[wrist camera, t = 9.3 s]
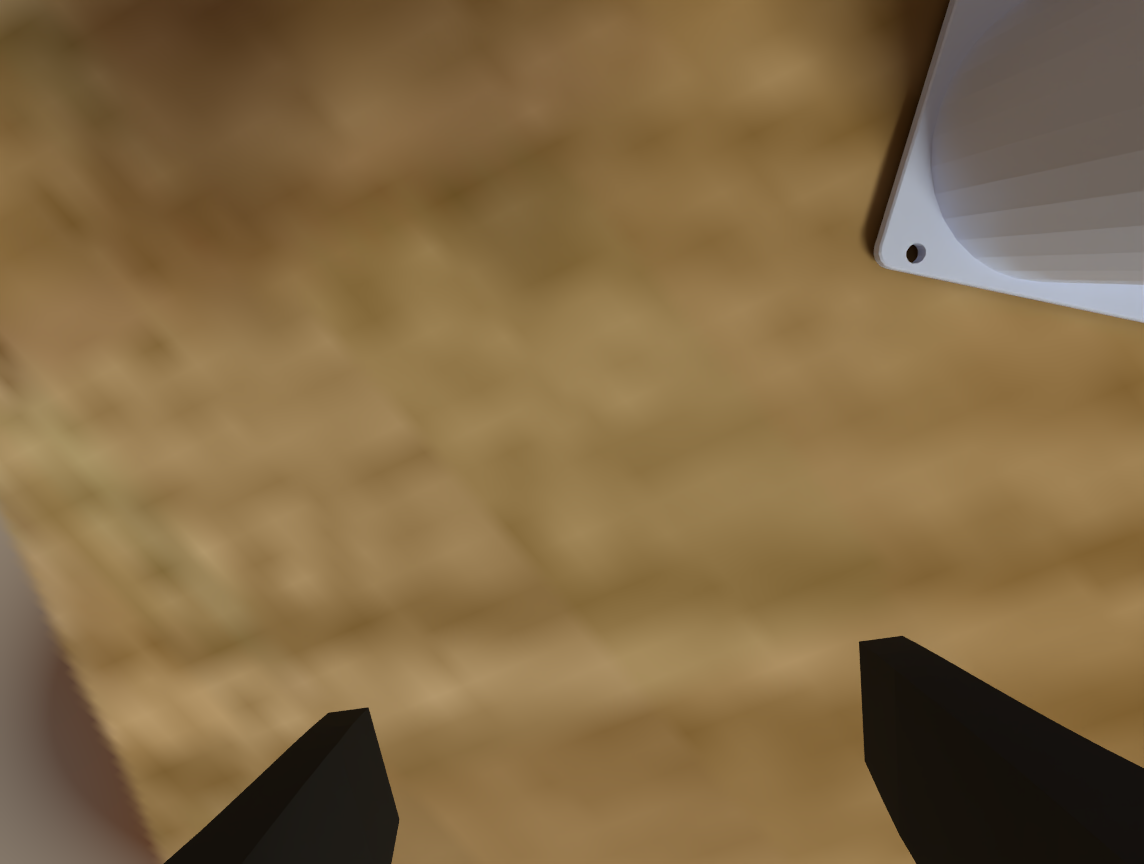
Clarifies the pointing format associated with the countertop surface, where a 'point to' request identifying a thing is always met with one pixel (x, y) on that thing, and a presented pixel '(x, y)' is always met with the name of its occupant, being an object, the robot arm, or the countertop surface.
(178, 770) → the countertop surface
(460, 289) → the countertop surface
